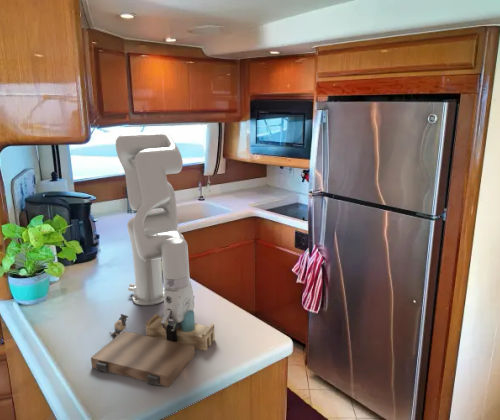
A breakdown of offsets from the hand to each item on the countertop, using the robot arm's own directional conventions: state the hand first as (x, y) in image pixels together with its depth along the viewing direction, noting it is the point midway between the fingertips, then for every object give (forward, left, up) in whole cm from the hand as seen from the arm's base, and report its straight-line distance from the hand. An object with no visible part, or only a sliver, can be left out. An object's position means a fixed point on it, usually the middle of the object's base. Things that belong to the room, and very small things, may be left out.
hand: (180, 333), depth 123 cm
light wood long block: (0, 0, -3) cm, 3 cm away
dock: (-4, -13, -2) cm, 14 cm away
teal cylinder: (+2, 0, +2) cm, 3 cm away
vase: (-20, -3, -2) cm, 20 cm away
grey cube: (-3, 0, +2) cm, 3 cm away
